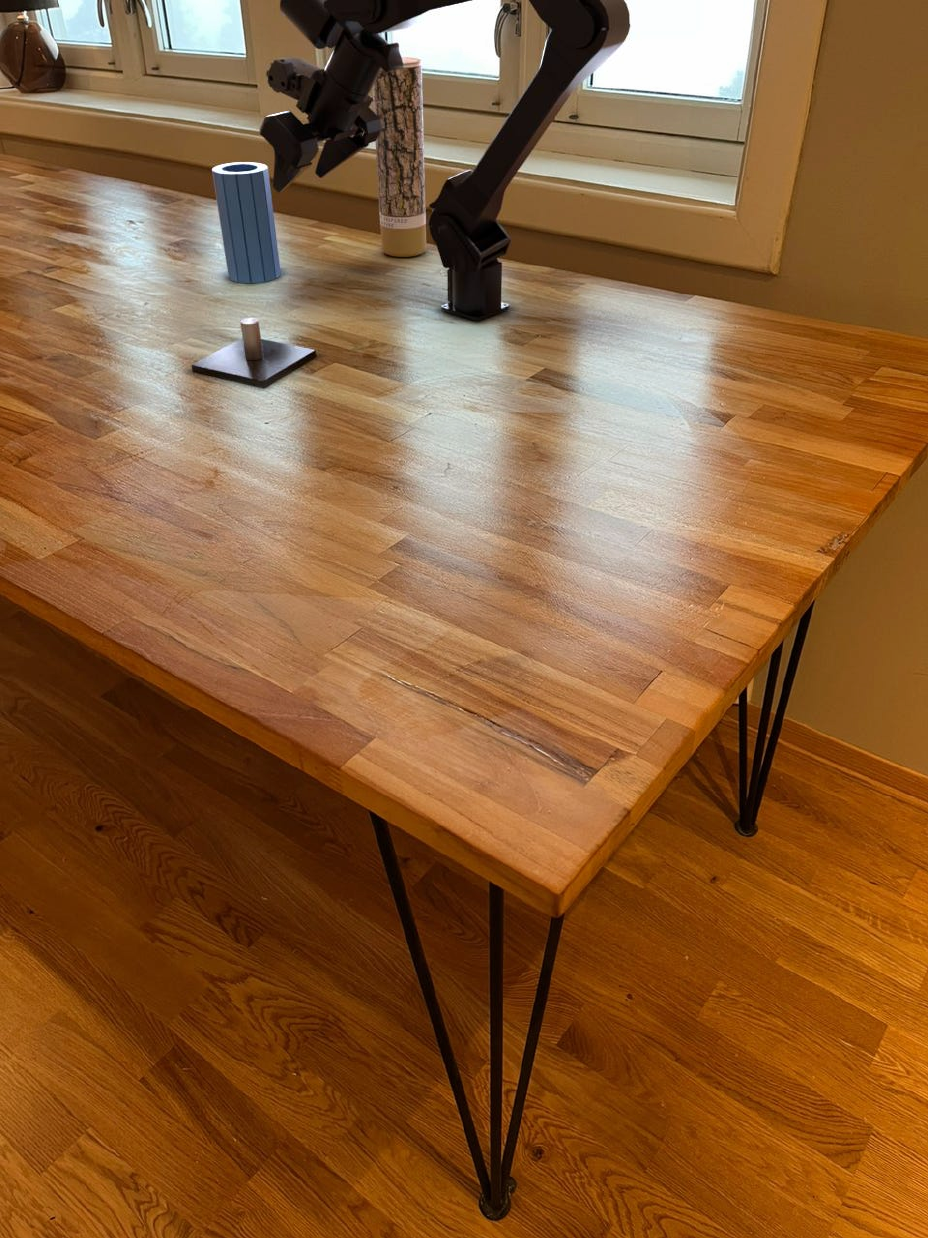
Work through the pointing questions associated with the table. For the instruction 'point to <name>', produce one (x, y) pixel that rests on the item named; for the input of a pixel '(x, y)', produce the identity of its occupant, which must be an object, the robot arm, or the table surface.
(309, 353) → the peg stand
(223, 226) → the blue fluted tube
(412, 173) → the paper tube
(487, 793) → the table surface
